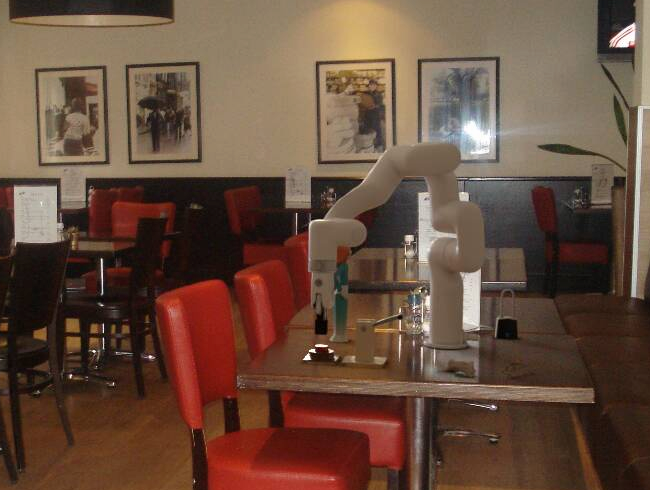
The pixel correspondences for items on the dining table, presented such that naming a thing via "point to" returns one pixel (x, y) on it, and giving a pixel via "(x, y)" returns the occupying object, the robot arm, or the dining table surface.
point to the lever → (389, 319)
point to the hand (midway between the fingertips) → (321, 334)
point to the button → (321, 348)
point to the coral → (457, 367)
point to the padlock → (507, 322)
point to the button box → (321, 356)
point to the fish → (517, 368)
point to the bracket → (364, 345)
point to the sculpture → (341, 296)
